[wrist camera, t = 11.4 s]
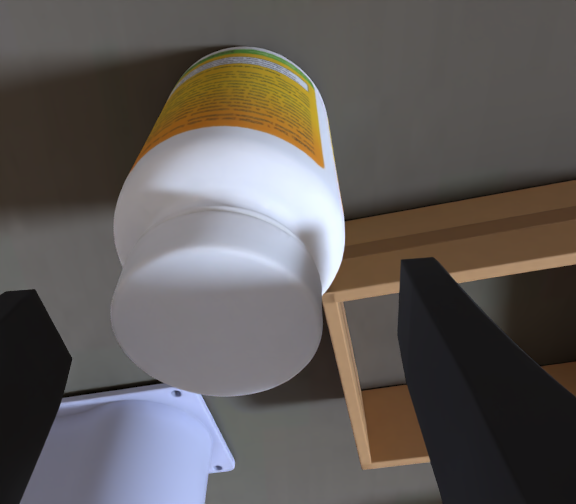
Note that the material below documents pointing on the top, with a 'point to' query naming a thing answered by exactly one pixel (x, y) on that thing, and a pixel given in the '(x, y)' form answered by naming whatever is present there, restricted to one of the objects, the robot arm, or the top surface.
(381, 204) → the top surface
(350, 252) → the wooden box
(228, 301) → the supplement bottle
